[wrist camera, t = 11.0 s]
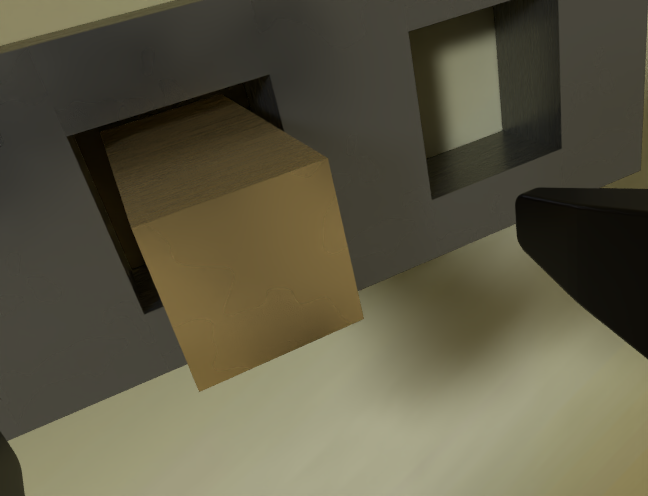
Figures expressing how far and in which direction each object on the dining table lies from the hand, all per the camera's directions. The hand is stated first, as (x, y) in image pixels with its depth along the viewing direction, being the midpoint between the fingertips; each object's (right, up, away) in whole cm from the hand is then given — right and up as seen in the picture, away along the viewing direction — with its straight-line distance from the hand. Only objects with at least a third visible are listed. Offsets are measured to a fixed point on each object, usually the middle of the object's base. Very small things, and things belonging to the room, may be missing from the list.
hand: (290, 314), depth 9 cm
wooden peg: (-4, +3, +8) cm, 10 cm away
